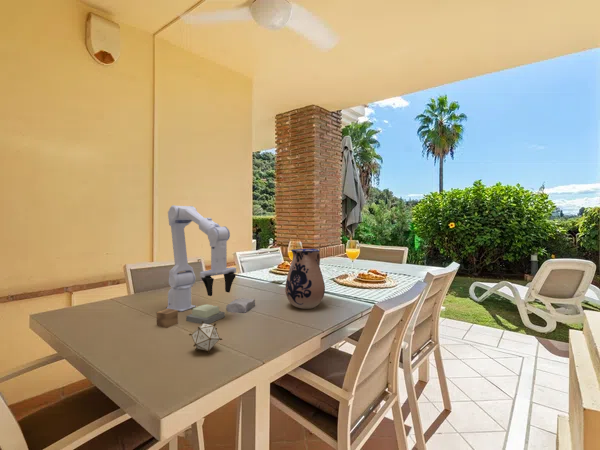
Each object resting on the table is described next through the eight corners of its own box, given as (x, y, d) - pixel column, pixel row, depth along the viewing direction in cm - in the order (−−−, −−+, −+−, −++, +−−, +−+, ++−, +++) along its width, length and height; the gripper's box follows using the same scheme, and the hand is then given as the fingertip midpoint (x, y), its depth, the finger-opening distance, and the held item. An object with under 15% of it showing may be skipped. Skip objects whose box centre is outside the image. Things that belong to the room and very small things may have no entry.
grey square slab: (186, 322, 113) (186, 315, 113) (205, 314, 122) (205, 308, 122) (206, 326, 109) (206, 319, 109) (224, 318, 118) (224, 312, 118)
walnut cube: (156, 326, 108) (156, 312, 108) (168, 321, 113) (168, 308, 112) (166, 328, 106) (166, 314, 106) (177, 323, 110) (177, 310, 110)
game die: (201, 361, 89) (195, 328, 94) (228, 350, 90) (220, 318, 94) (187, 358, 81) (182, 323, 86) (217, 346, 82) (210, 311, 87)
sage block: (192, 315, 114) (192, 308, 114) (205, 310, 120) (205, 304, 120) (206, 318, 111) (206, 311, 111) (219, 312, 117) (219, 306, 117)
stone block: (225, 316, 124) (247, 313, 122) (222, 305, 125) (245, 301, 123) (236, 309, 136) (257, 306, 134) (234, 298, 136) (255, 295, 134)
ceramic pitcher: (278, 309, 128) (278, 250, 127) (297, 297, 147) (297, 246, 147) (317, 314, 121) (317, 252, 121) (332, 301, 141) (332, 247, 140)
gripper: (206, 261, 107) (206, 299, 107) (240, 257, 117) (240, 292, 117) (197, 259, 112) (197, 295, 112) (230, 255, 122) (230, 289, 122)
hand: (218, 293), depth 115 cm, fingers open, 7 cm apart
